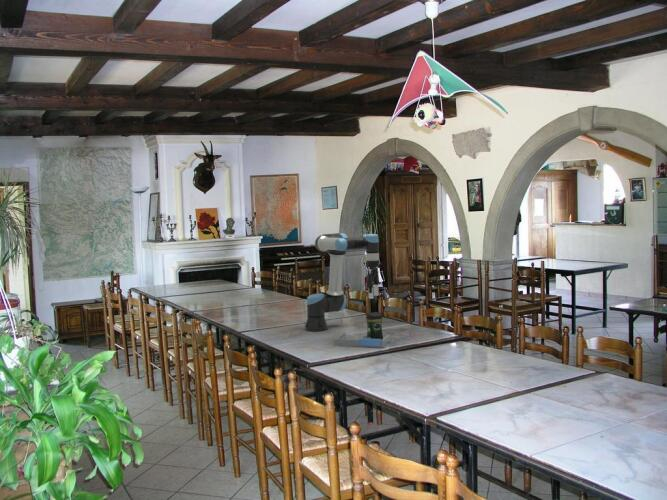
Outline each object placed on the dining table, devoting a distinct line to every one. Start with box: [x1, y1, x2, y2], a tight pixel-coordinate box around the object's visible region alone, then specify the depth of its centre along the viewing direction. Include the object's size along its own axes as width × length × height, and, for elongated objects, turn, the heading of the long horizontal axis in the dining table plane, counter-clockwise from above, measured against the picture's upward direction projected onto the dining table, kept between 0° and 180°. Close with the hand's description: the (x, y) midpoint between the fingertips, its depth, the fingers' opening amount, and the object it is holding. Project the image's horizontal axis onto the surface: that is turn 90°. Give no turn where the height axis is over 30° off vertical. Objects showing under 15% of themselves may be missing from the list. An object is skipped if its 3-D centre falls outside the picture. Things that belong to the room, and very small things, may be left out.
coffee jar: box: [365, 311, 384, 340], centre depth 389 cm, size 10×8×19 cm
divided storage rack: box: [333, 332, 391, 349], centre depth 389 cm, size 18×30×5 cm, turn 71°
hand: (373, 296), depth 387 cm, fingers open, 11 cm apart
